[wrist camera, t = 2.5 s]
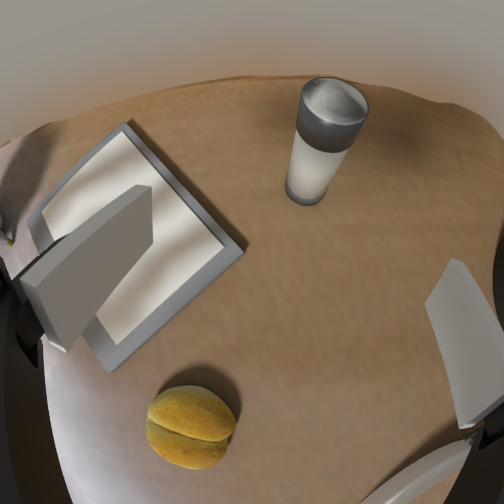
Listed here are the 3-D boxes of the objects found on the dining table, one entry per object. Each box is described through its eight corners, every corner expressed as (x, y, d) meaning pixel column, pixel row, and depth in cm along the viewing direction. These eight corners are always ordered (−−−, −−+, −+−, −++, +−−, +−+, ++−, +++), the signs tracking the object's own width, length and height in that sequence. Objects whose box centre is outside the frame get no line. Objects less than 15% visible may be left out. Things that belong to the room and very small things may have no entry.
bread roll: (244, 397, 23) (241, 412, 19) (219, 466, 22) (214, 487, 18) (161, 368, 24) (146, 377, 20) (144, 439, 22) (129, 455, 18)
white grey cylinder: (334, 189, 27) (380, 107, 14) (305, 214, 26) (341, 138, 14) (304, 161, 27) (330, 69, 15) (275, 185, 27) (286, 94, 14)
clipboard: (244, 254, 26) (242, 248, 23) (113, 372, 24) (101, 376, 21) (127, 125, 29) (119, 114, 27) (30, 223, 27) (19, 217, 25)
